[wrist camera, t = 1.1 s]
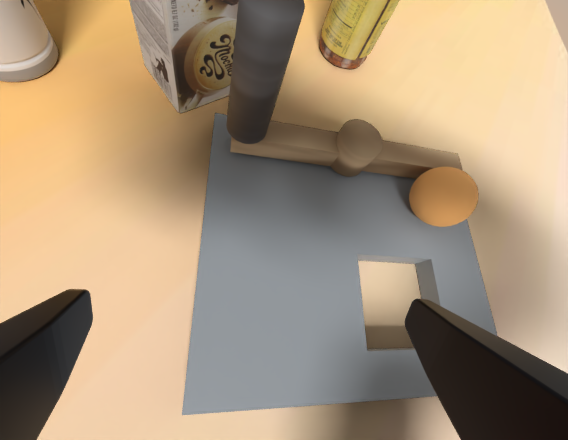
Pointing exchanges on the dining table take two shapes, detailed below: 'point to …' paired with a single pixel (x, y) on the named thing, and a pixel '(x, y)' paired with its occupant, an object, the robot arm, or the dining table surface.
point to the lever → (292, 138)
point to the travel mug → (24, 42)
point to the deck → (310, 284)
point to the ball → (443, 196)
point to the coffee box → (188, 47)
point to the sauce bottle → (353, 30)
